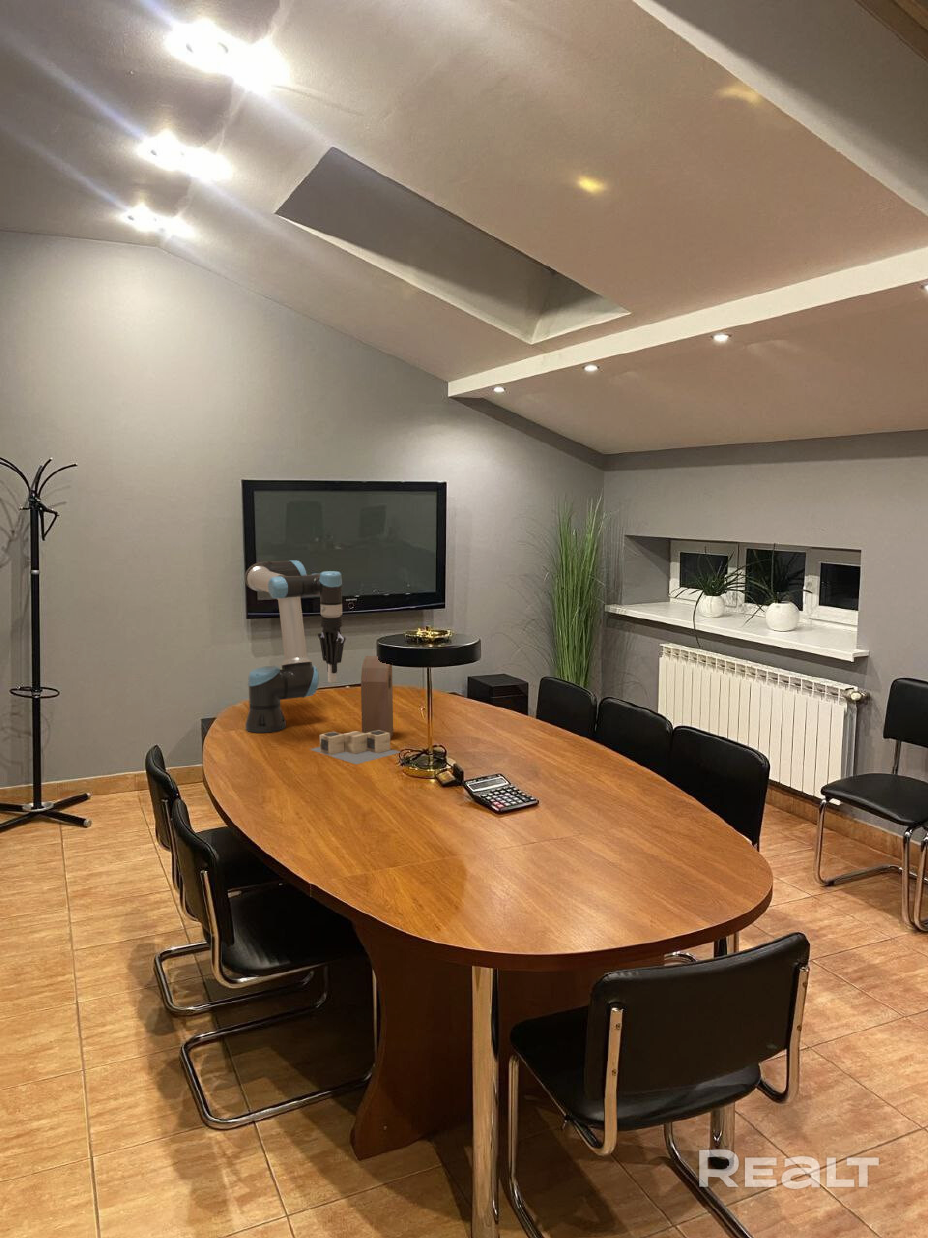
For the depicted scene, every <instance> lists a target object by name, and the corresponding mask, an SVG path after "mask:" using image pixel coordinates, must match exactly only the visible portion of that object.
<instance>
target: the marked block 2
mask: <svg viewBox="0 0 928 1238" xmlns="http://www.w3.org/2000/svg"><path fill="white" fill-rule="evenodd" d="M366 734H367V750H368V751H371V752H374V753H380V752H384V751H388V750H390V749H391V738H390V733H388V732H384V731H380V730H377V731H373V732H369V733H366Z"/></svg>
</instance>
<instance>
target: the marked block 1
mask: <svg viewBox="0 0 928 1238" xmlns="http://www.w3.org/2000/svg"><path fill="white" fill-rule="evenodd" d="M343 734H344V733H339V732H336V731H330V732H326V733H321V734H319V747H320V752H323V753H326V754H329V755H333V754H336V753H340V752H344V735H343Z"/></svg>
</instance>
